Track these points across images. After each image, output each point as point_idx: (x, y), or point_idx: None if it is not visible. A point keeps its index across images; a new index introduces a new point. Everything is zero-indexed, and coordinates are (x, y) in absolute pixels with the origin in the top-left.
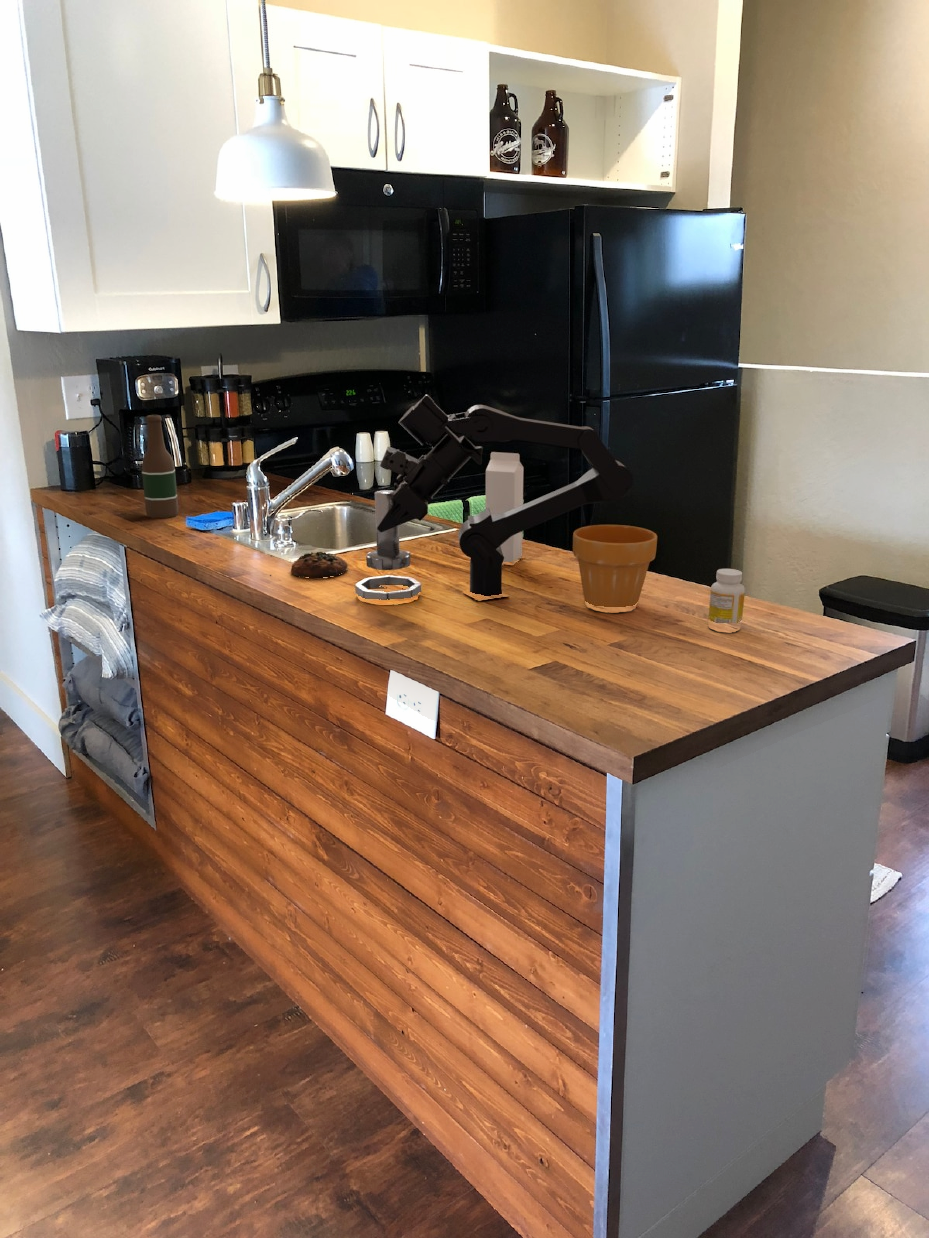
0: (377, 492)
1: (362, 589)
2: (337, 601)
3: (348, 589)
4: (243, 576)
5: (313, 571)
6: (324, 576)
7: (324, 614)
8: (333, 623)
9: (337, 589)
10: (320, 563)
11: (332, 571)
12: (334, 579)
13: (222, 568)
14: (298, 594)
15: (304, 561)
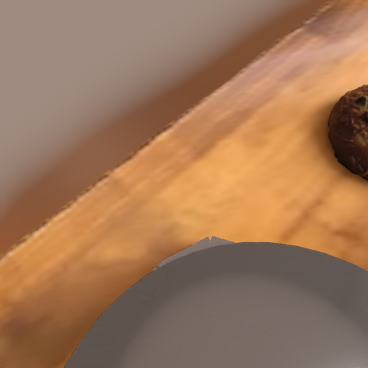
0: (263, 292)
1: (168, 260)
2: (177, 211)
3: (266, 218)
4: (314, 38)
5: (334, 129)
6: (338, 155)
7: (97, 202)
8: (43, 227)
9: (262, 196)
10: (364, 131)
11: (356, 164)
12: (338, 177)
13: (353, 4)
14: (219, 136)
15: (357, 99)
